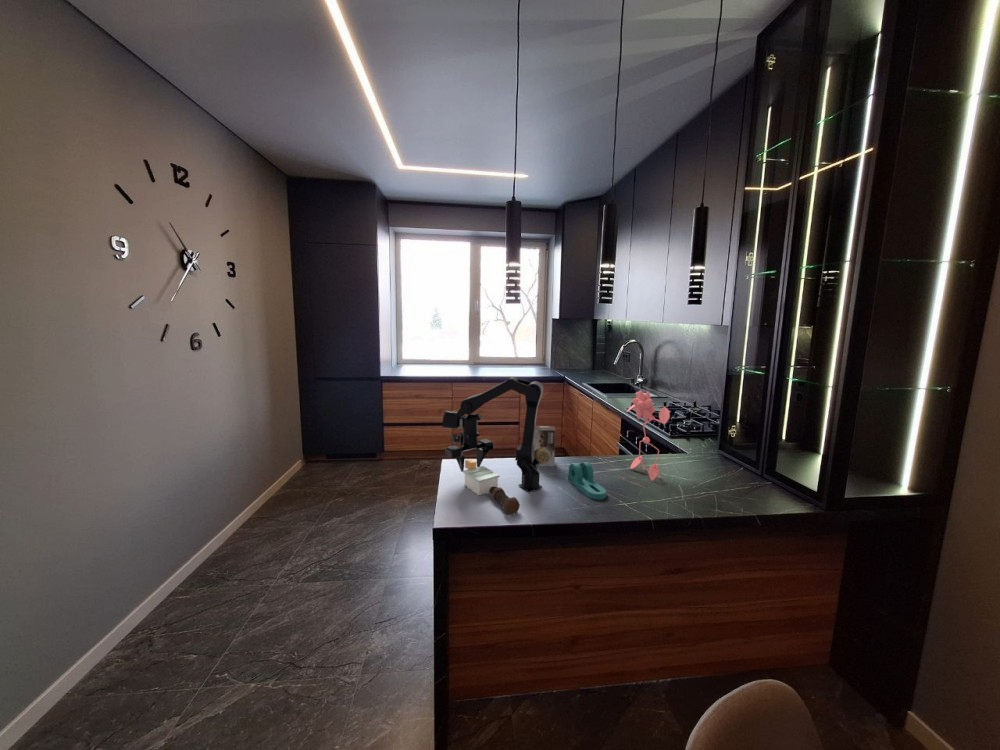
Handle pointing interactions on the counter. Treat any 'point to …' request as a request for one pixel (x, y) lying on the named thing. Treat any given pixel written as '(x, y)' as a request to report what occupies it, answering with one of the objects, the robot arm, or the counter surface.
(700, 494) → the counter surface
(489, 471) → the lid
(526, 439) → the robot arm
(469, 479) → the parts tub
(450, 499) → the counter surface
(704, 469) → the counter surface
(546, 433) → the coffee box
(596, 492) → the bracket
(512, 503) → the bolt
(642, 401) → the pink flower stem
